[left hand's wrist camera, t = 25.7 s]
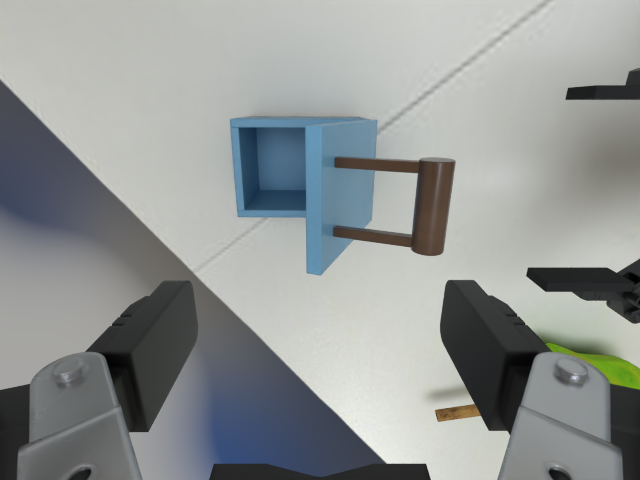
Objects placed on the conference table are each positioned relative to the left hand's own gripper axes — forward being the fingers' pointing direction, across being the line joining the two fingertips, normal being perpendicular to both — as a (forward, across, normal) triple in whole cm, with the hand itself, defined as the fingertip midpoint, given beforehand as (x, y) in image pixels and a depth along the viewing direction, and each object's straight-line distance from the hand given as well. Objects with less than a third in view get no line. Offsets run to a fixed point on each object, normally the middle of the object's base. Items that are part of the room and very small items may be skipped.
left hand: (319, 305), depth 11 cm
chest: (+36, -2, 0) cm, 37 cm away
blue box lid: (+19, +2, 0) cm, 19 cm away
